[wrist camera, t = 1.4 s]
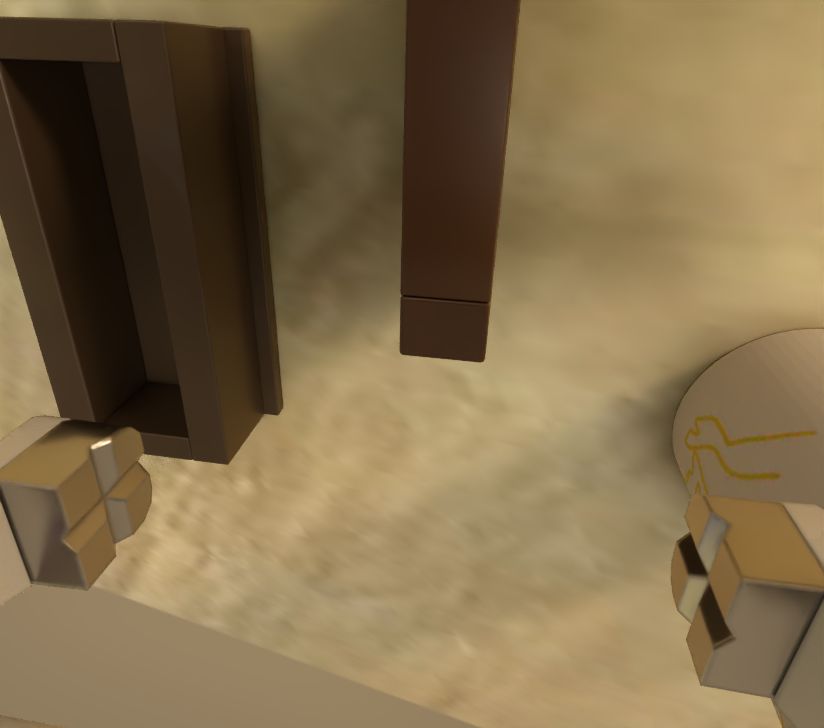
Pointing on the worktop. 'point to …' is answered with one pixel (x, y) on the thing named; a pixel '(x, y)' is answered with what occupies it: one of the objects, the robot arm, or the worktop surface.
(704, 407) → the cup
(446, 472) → the worktop surface
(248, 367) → the holder
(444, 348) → the frame
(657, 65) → the worktop surface
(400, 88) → the worktop surface
